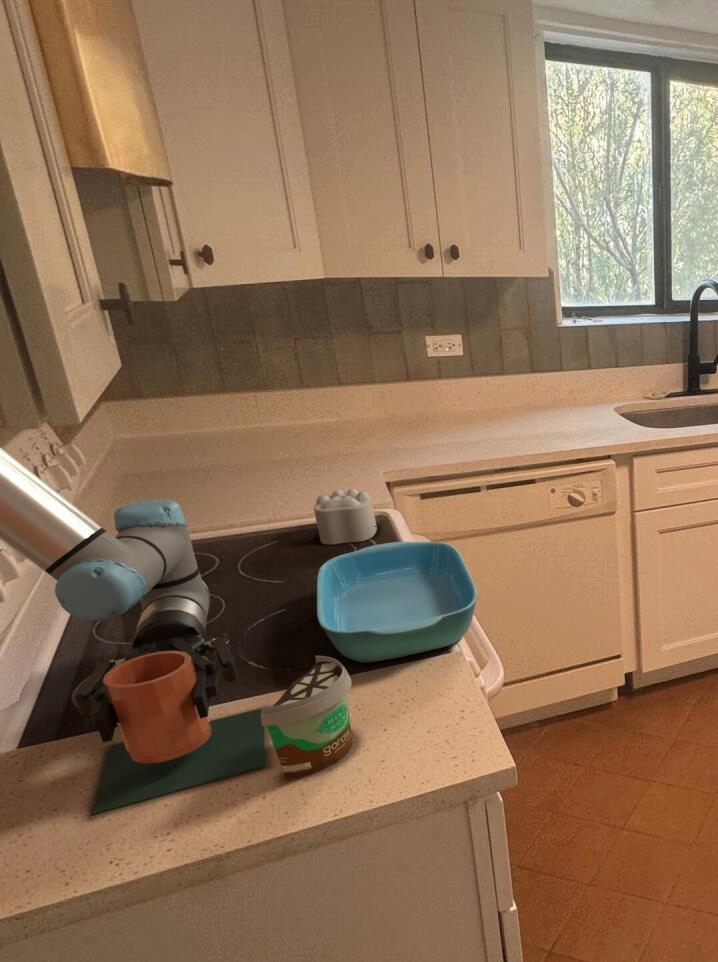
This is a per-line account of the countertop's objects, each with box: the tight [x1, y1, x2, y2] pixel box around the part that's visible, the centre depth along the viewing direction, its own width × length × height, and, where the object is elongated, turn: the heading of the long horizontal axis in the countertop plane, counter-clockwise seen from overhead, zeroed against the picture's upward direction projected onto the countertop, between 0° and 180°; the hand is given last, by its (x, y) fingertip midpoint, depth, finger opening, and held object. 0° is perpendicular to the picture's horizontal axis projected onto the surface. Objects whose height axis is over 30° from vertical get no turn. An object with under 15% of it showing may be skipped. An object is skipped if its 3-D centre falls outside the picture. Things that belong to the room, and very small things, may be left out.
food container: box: [260, 655, 353, 778], centre depth 92 cm, size 12×6×10 cm, turn 179°
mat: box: [91, 708, 266, 816], centre depth 93 cm, size 14×16×1 cm
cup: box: [103, 651, 212, 764], centre depth 90 cm, size 8×8×10 cm
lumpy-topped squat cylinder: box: [313, 488, 378, 545], centre depth 163 cm, size 10×13×9 cm
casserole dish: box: [316, 541, 479, 664], centre depth 126 cm, size 37×22×7 cm, turn 28°
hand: (153, 718), depth 86 cm, fingers closed on cup, 8 cm apart
